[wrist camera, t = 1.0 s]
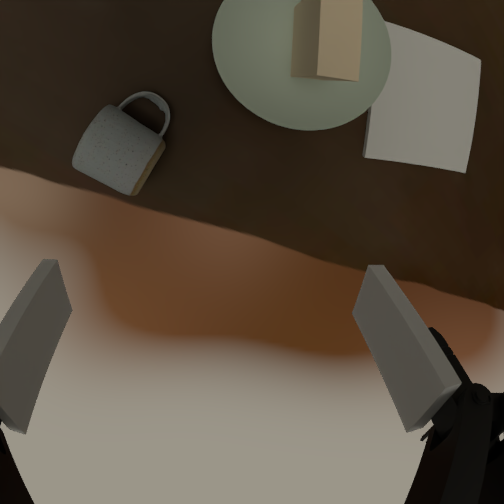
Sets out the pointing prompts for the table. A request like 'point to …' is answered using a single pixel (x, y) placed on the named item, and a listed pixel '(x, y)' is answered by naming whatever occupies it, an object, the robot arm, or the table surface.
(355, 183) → the table surface
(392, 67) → the mat
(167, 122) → the ceramic mug
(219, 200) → the table surface
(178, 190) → the table surface
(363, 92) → the lid
